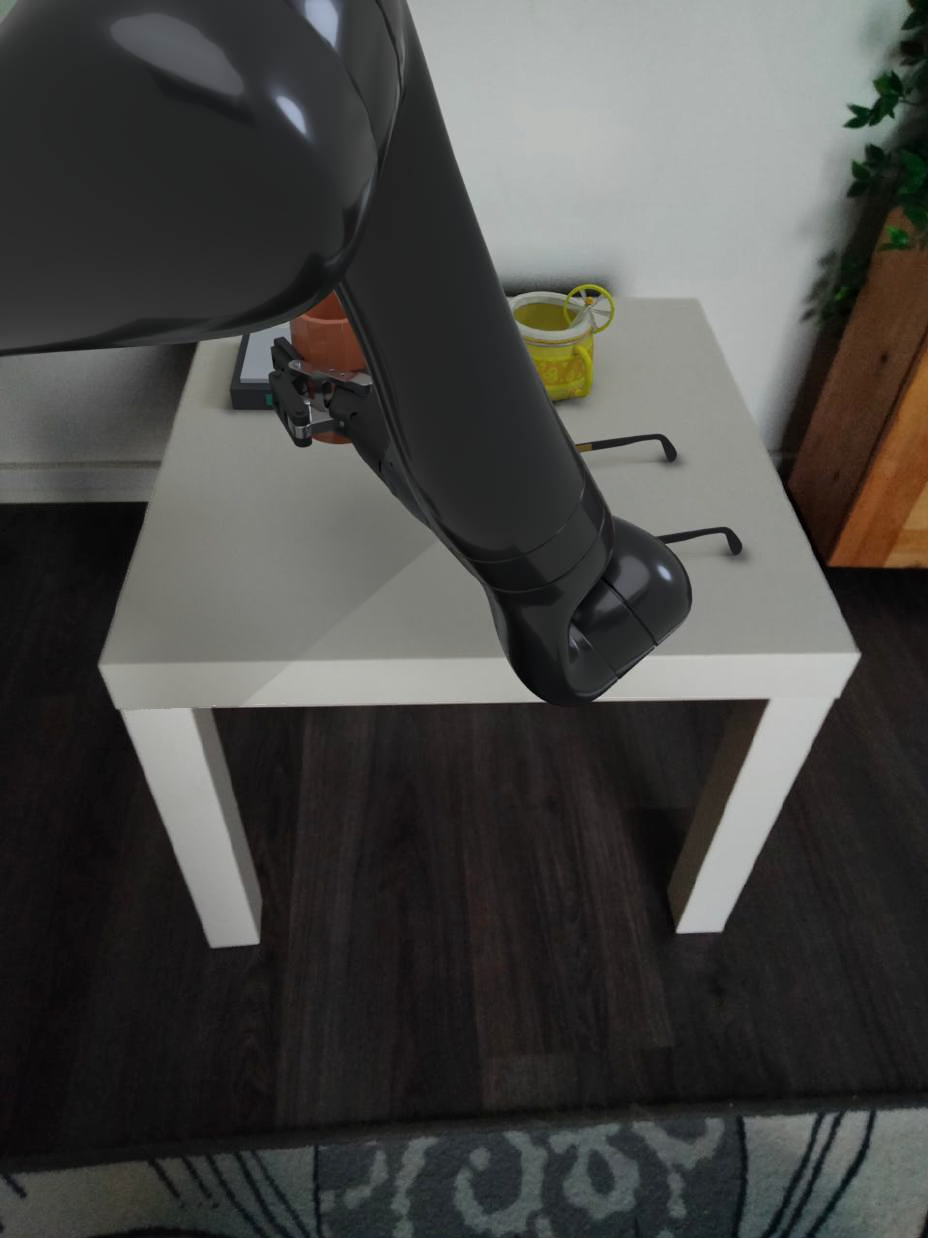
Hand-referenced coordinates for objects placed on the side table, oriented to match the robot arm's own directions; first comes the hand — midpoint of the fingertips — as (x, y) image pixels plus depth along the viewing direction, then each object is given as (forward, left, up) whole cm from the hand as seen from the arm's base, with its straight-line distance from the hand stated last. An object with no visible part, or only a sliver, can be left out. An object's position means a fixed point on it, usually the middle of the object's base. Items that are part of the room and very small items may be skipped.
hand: (321, 337), depth 67 cm
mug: (+30, -2, -18) cm, 35 cm away
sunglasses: (+17, -20, -18) cm, 32 cm away
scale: (+14, +19, -18) cm, 29 cm away
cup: (-1, -2, -6) cm, 6 cm away
